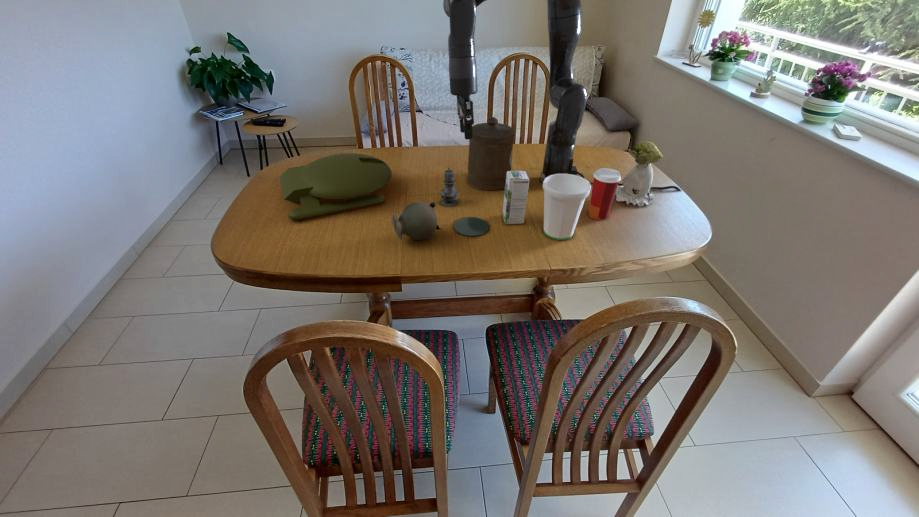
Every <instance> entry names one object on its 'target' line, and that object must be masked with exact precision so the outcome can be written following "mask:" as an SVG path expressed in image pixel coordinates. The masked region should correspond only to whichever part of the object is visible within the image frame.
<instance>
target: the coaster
mask: <svg viewBox="0 0 919 517" xmlns="http://www.w3.org/2000/svg"><path fill="white" fill-rule="evenodd" d="M453 228H454V231H455V232H456V233H457V234H459V235H461V236H464V237H470V238H471V237H472V238H473V237H474V238H475V237H480V236H483V235H485V234H486V233H487V232H488V231H489V224H488V222H487V221H485V220H484V219H482V218H480V217H475V216H468V217H462V218H460V219H458V220H456V221H455V222H454V225H453Z"/></svg>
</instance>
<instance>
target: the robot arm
mask: <svg viewBox="0 0 919 517" xmlns="http://www.w3.org/2000/svg"><path fill="white" fill-rule="evenodd" d="M486 1H487V0H443V1H442V7H443V11H444V14H445V15H446V16H447V18H449V34H448V36H447V49H448V77H449V89H450V91H449V92H450V95H451V96H456V108H457V109H456V110H457V111H456V112H457V117H458V119H459V131H460V133H461V134H462V133H463V135H464V139H465V140H469V139H472V138H473V132H472V126H474V125H475V119H474V102H473V100H472V99H471V95H475V94H477V93H478V67H477V66H478V65H477V60H476V44H475V32H476V21H477V7H479V6H480V5H482V4H483V3H484V2H486ZM546 9H547V12H546V13H547V14H546V16H547V33H548V52H549V53H548V55H549V81H548V99H549V102H550V104H551V106H552V107H554V108H555V109H557V113H556V118H555V120H552V121H551V122H550V123H549V124H548V127H547V136H546V143H545V150H544V157H543V158H544V159H543V165H542V171H540V176H541V178H540V182H541V183H542V184H543V181H544V179H545V178H546V177H548V176H550V175H554V174H572V175H576V176H579V177H582V178H584V179H586V177H585V174H583V173H582V172H579V171H578V168H577V166H576V165H574V151H575V146H576V141H577V135H578V131H579V129H580V127H581V126H582V123H583V119H584V114H585V110H586V105H587V100H588V93H587V89H586V86H584V85H583V84H581V83H579V82H577V81H575V80H574V71H573V70H574V69H573V68H574V67H573V64H574V63H573V61H574V60H573V59H574V55H575V52H576V49H577V46H578V44H579V41H580V39H581V36H582V35H581V34H582V27H583V8H582V0H546ZM589 183H590V185H593V182H589ZM618 186H624V185H623V184H622V182H619V184H618ZM669 189H674V190H676V191H678V192H681V188H680V187H679V186H676V185H668V186H651V187H650V189H649V190H660V191H661V190H662V191H663V190H669Z"/></svg>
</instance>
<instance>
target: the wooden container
mask: <svg viewBox="0 0 919 517" xmlns="http://www.w3.org/2000/svg"><path fill="white" fill-rule="evenodd" d="M472 132H473V138H472V139H468V140H469V141H468V155H467V156H468V158H467V161H468V162H467V183H468V184H469V185H470V186H472V187H474V188H476V189H478V190H482V191H496V190H501V189H505V184H506V174H507V171H512V167H513V166H512V164H513V151H514V150H513V149H514V140H515V129H514V128H513V127H512V126H510V125H508V124H504V123H499V120H498V118H496V117H494V116H491V117H488V118H487V120H486V122H482V123H481V122H480V123H477V124H473V125H472Z"/></svg>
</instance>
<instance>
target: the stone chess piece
mask: <svg viewBox="0 0 919 517" xmlns="http://www.w3.org/2000/svg"><path fill="white" fill-rule="evenodd" d="M443 176H444V179H443V185H444V188H442V189H441V190H440V191H439V194H440V197H441V199H442V200H441V201H440V204H441V205H442V206H444V207H449V208H450V207H455V206H457V205H458V202H459V201H458V200H457V198H458V196H459V190H458V189H456V188H455V183H456V180H455V172H454V170H452V169H451V168H450V167H448V168H447V169H446V170H445V171H444V175H443Z"/></svg>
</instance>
